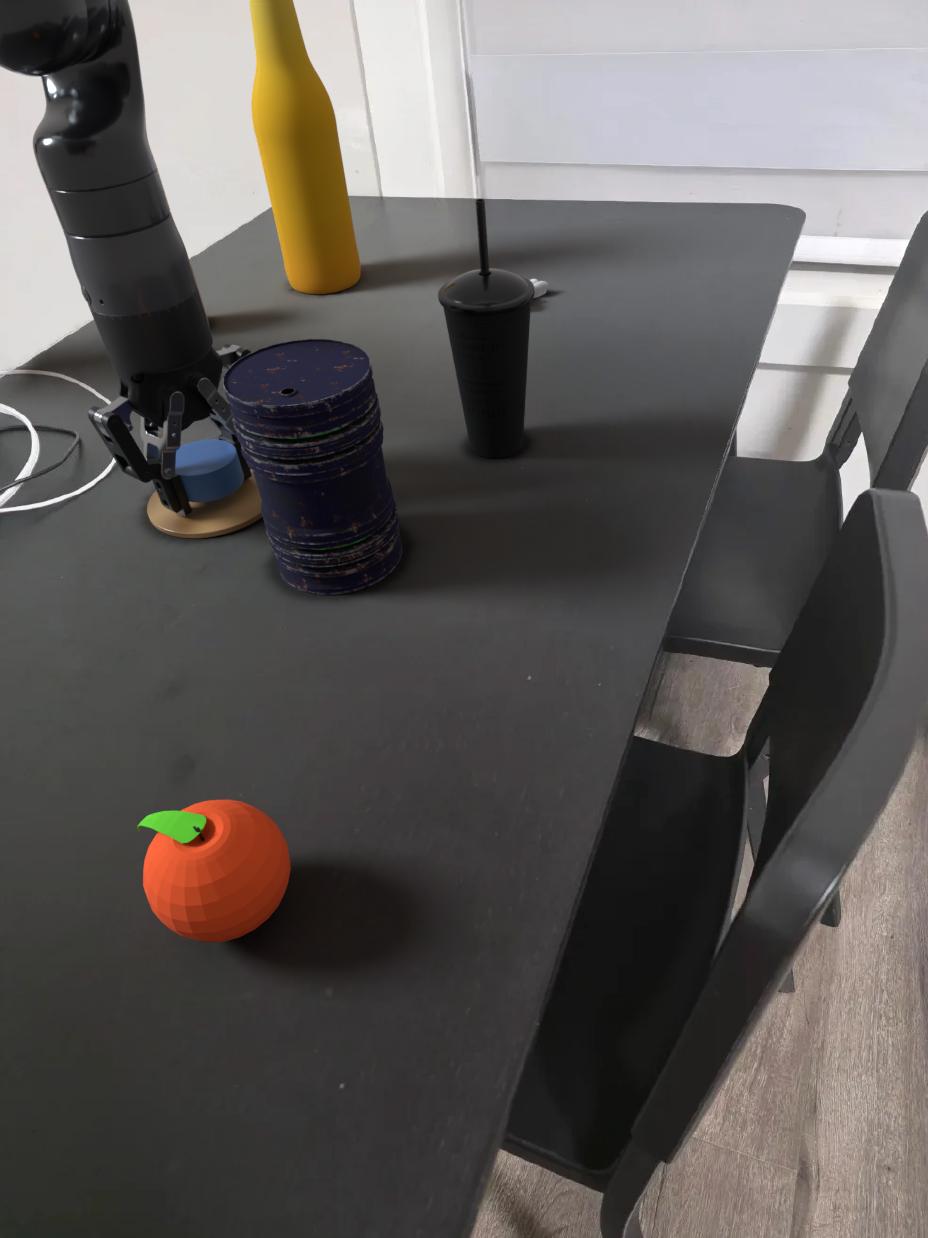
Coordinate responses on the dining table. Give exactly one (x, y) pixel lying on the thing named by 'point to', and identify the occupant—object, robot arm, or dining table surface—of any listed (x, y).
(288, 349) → the navy ridged cylinder
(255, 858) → the clementine
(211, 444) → the jar lid
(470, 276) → the drinking cup
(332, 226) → the beer bottle
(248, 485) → the coaster
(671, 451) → the dining table surface
